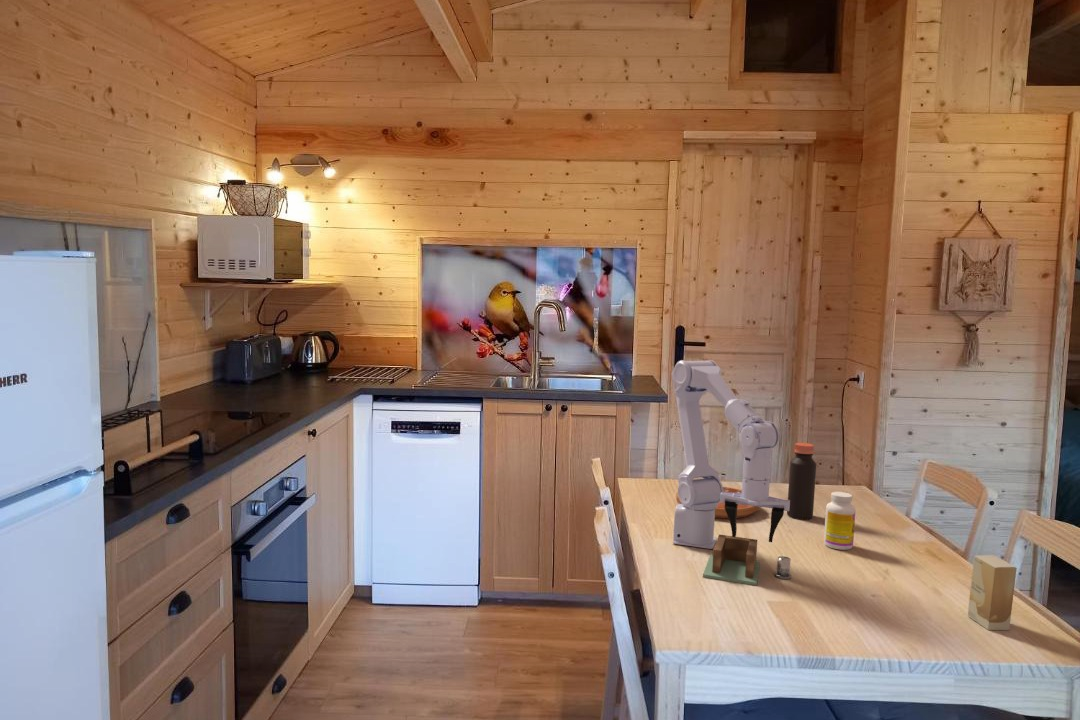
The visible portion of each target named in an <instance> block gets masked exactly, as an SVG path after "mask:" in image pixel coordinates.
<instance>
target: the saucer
mask: <svg viewBox="0 0 1080 720" xmlns="http://www.w3.org/2000/svg"><path fill="white" fill-rule="evenodd" d="M723 490H724V492H726V493H742V489H738V488H734V487H729V486H728V487H727V486H723ZM675 499H676V503H677V504H682V503H681V501H680V500H679V497H678V491H677V492H676V496H675ZM724 506H725V503H720V502H719V503H718V507H716V508H715V518H716V519H729V518H728V515H727V513H726V511H725V507H724ZM758 510H760V507H758V506H750V505H742V504H738V506H737V518H736V519H738V518H739V519H740V518H744V517H747V516H749V515H752V514H754V513H756V512H757V511H758Z"/></svg>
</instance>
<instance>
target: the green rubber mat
mask: <svg viewBox="0 0 1080 720" xmlns="http://www.w3.org/2000/svg"><path fill="white" fill-rule="evenodd" d="M712 567H713V554H710V555H709V558H708V560H707V563H706V565H705V567H704V570H703V574H702V578H707V579H713V580H720V581H727V582H732V583H740V584H744V585H751V586H757V584H758V579H759V575H760V569H761V561H757V560H756V565H755V570H754V575H753V578H747V577H745V569H746V562H740V561H733V560H726V559H724V562H723V565H722V568H721V571H720V573H714V572H712Z"/></svg>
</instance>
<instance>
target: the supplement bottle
mask: <svg viewBox="0 0 1080 720" xmlns="http://www.w3.org/2000/svg"><path fill="white" fill-rule="evenodd" d="M830 498H831V499H830V500H831V501H830V502H828V503H827V504H826V506H825V518H824V532H823V543H824V545H825V546H826V547H828V548H831V549H834V550H840V551H841V550H842V551H848V550H851V549H853V546H854V536H855V523H856V522H855V521H856V507H854V506H853V505H852V501H853V495H852V494H851V493H848V492H844V491H833V492H831V494H830Z"/></svg>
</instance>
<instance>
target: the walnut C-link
mask: <svg viewBox="0 0 1080 720" xmlns="http://www.w3.org/2000/svg"><path fill="white" fill-rule="evenodd" d="M757 549H758V539H754V538H749V537H741V536H736V537H732V535H724V534H718V536H717V540H716V542H715V545H714V548H713V549H712V550H713V551H712V553H713V554H712V555H713V567H712V572H714V573H720V571H721V568H722V565H723V562H724V559H726V560H733V561H740V562H746V569H745V577H747V578H753V575H754V570H755V565H756V561H757V552H758V550H757Z"/></svg>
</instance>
